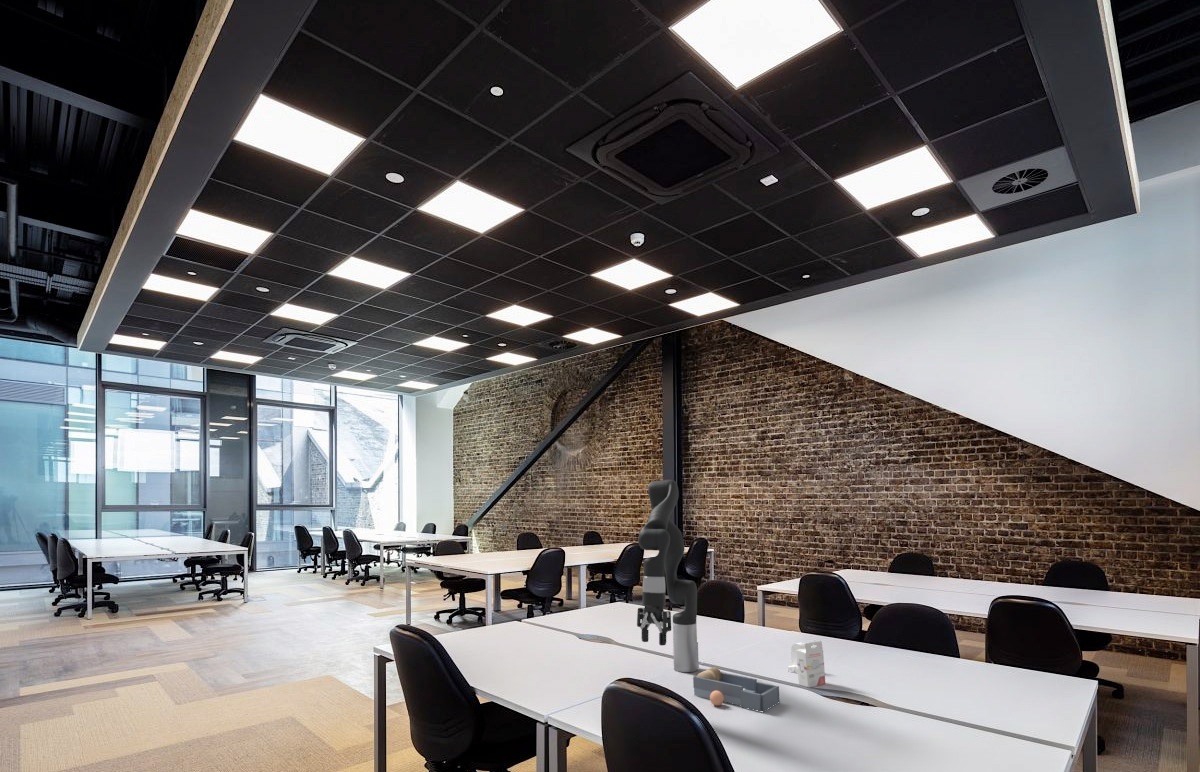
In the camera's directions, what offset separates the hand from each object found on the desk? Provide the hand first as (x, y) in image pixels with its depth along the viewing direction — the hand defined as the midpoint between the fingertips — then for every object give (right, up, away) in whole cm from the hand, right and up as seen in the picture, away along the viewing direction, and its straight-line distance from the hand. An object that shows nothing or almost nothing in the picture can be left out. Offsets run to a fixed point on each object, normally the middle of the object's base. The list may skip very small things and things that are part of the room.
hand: (653, 643), depth 204 cm
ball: (+20, -17, -1) cm, 27 cm away
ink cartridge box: (+58, -23, +20) cm, 66 cm away
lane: (+27, -20, +5) cm, 35 cm away
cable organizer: (+59, -26, +37) cm, 75 cm away
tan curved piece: (+20, -19, +11) cm, 30 cm away
